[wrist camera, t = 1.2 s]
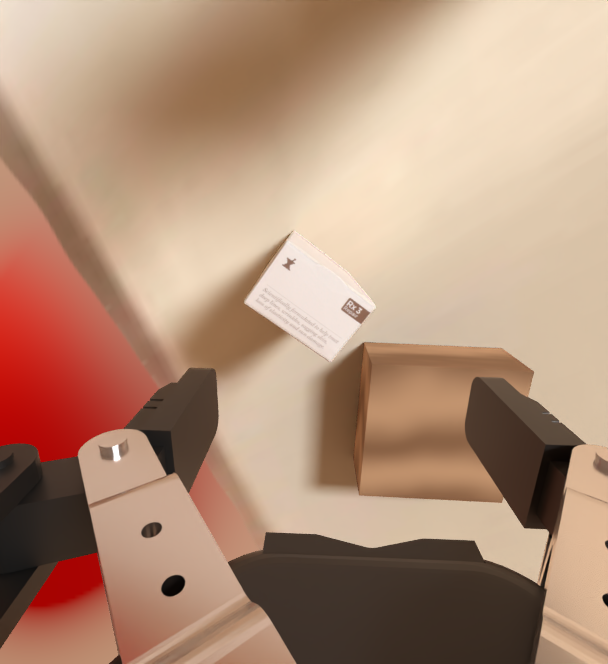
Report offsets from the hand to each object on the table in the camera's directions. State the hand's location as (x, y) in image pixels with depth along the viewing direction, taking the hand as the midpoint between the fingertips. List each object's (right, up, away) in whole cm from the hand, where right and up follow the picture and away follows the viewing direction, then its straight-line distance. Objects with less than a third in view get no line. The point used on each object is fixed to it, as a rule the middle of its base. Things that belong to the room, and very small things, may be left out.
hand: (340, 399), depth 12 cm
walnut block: (+10, -5, +23) cm, 25 cm away
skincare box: (-1, +7, +19) cm, 21 cm away
